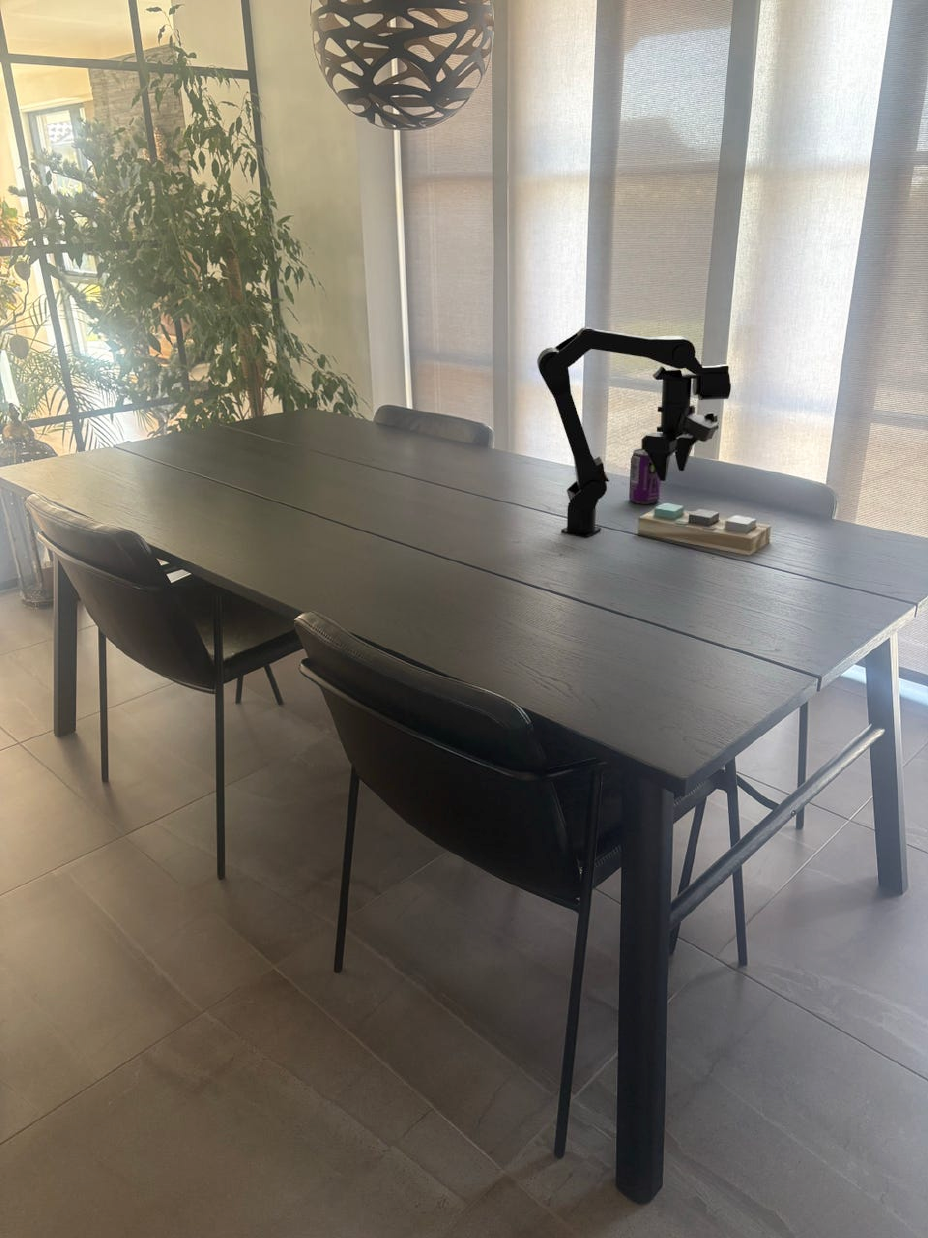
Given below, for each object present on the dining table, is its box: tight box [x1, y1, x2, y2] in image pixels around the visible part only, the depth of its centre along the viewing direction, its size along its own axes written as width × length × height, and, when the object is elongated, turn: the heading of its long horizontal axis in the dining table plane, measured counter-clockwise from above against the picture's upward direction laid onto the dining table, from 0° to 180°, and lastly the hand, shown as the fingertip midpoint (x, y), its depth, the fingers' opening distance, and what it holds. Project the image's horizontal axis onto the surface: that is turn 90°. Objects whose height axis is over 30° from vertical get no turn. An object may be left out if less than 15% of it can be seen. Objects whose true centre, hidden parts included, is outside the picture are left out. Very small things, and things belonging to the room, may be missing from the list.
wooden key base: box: [637, 509, 772, 556], centre depth 195 cm, size 10×25×4 cm, turn 51°
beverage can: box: [628, 448, 662, 505], centre depth 219 cm, size 7×7×12 cm
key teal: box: [653, 502, 685, 520], centre depth 199 cm, size 5×5×3 cm
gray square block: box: [688, 508, 720, 527], centre depth 194 cm, size 5×5×3 cm
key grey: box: [725, 514, 757, 534], centre depth 189 cm, size 5×5×3 cm
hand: (672, 475), depth 196 cm, fingers open, 9 cm apart
